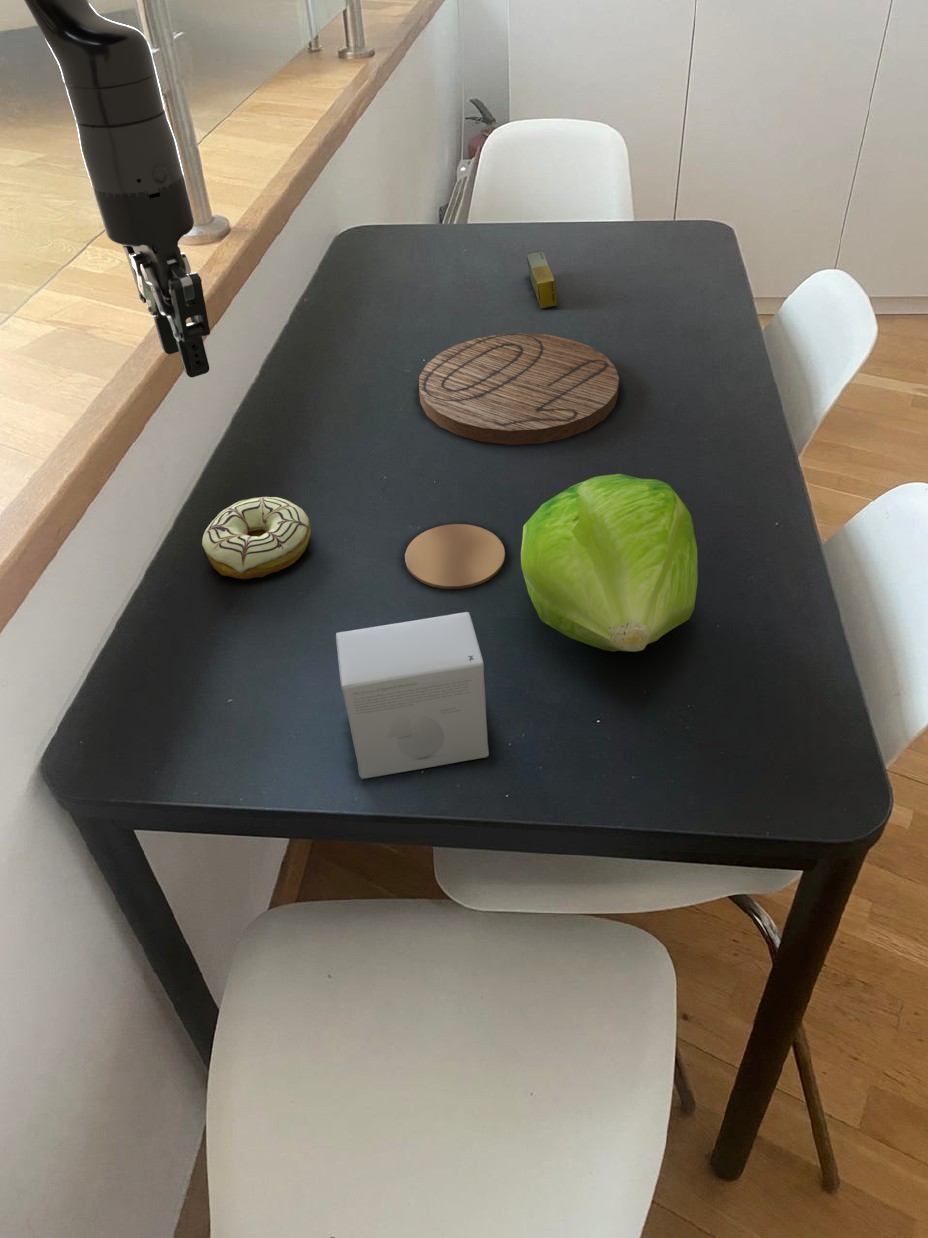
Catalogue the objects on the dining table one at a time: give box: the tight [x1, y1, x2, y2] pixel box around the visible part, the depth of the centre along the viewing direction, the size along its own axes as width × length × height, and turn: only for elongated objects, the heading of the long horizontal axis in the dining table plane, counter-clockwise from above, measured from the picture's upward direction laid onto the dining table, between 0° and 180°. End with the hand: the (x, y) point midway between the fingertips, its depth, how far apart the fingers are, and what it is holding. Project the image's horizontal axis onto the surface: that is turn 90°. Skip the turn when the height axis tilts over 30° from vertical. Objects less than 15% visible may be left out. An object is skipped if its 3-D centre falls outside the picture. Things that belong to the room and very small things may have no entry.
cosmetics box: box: [335, 611, 490, 780], centre depth 71 cm, size 10×6×10 cm, turn 100°
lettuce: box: [520, 473, 699, 653], centre depth 79 cm, size 15×20×14 cm
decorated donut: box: [201, 496, 312, 580], centre depth 93 cm, size 10×11×4 cm
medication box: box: [526, 250, 558, 309], centre depth 136 cm, size 12×3×4 cm, turn 5°
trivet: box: [418, 332, 620, 446], centre depth 116 cm, size 25×25×2 cm
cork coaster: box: [404, 523, 506, 590], centre depth 92 cm, size 10×10×1 cm
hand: (186, 361), depth 88 cm, fingers open, 5 cm apart
